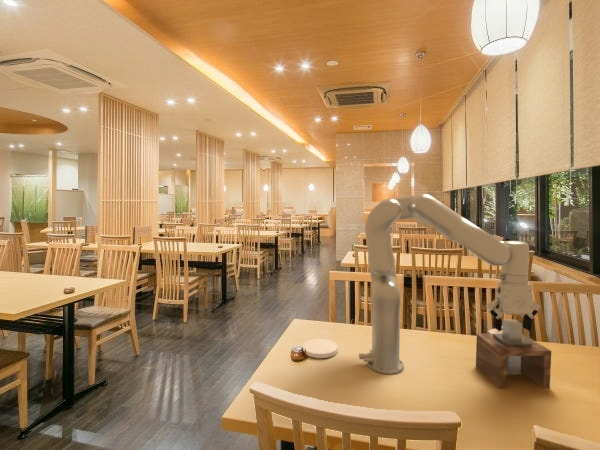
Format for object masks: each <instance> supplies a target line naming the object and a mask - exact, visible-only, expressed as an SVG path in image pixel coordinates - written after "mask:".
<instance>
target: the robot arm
mask: <svg viewBox="0 0 600 450" xmlns="http://www.w3.org/2000/svg"><path fill="white" fill-rule="evenodd" d="M412 219H420V220H421V222H424V223H425V224H426V225H428V226H429V227H431V228H433V229H434V230H435V231H437V232H438V233H440V234H441V236H444V237H445V238H447V239H448V240H450V241H452V242H455V243H456V244H458V245H460V246H462V247H464V248H466V249H467V250H469V251H470V252H472V253H473V254H474V255H475V256H476V257H477V258H478V259H479V260H481V261H482V262H484V263H486V264H488V265H489V266H493V267H501V268H500V270H501V271H500V274H499V275H497V280H500V281H498V284H497V287H496V292H495V299H494V300H492V301H490V302H488V303H486V304H485V306H486V309H487V310H488V313H490V315H491V316H492V317H493V327H494V328H493V329H497V330H498V331H501V330H502V326H503V319H502V317H503V316H504V315H523V316H522V329H525V330H527V331H528V332H529V331H532V324H533V319H535V316H536V315H537V314H538V312H539V309H540V308H541V305H540V304H539V303H537V302H535V301H534V296H533V291H532V285H531V283H529V261H530V260H529V259H530V245H529V244H528V243H527V242H525V241H519V240H505V241H503V240H502V241H501V240H498V239H497V238H496V237H494V236H493V235H491V234H490V233H488V232H487V231H485V230H483V229H482V228H481V227H478V226H477V225H476V224H474V223H472V222H471V221H470V220H468V219H467V218H465V217H464V216H462V215H460V214H459V213H457V212H456V211H454V210H453V209H452V208H450V207H448V206H447V204H446V205H445V204H444V203H442V202H441V201H440V200H439V199H437V198H435V197H434V196H432V195H431V194H427V193H421V194H420V193H419V194H415V195H410V196H409V195H408V196H401V197H393V198H385V199H383V200H381V201H379V203H377V204H376V205H375V206H374V207H373V209H371V210H370V212H369V214H368V216H367V218H366V221H365V227H364V229H365V240H366V241H365V242H366V250H367V255H368V256H367V263H368V264H367V265H368V269H369V274H370V280H371V287H372V288H371V289H372V297H371V299H372V304H371V305H372V312H371V313H372V314H371V315H372V316H371V318H372V319H371V320H372V321H371V322H372V323H371V324H372V325H371V327H372V330H371V332H372V333H371V338H372V340H371V349H370V350H369V352H367V353H358V359H359V360H363V362H365V363H367V366H368V367H369V368H370V369H371V370H372V371H374V372H377V373H380V374H384V375H385V374H386V375H394V374H398V373H401V372H403V370H404V368H405V367H404V366H405V364H404V362H403V361H402V360H401V359H400V347H401V346H400V343H401V342H400V341H401V340H400V338H401V337H400V336H401V335H400V334H401V333H400V332H401V326H400V325H401V305H402V293H401V288H400V286H399V284H398V279H397V271H396V258H395V256H394V252H393V251H394V250H393V244H392V236H391V229H392V226H393V224H394V223H395V222H398V221H404V220H412ZM494 308H495V310H494Z"/></svg>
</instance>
